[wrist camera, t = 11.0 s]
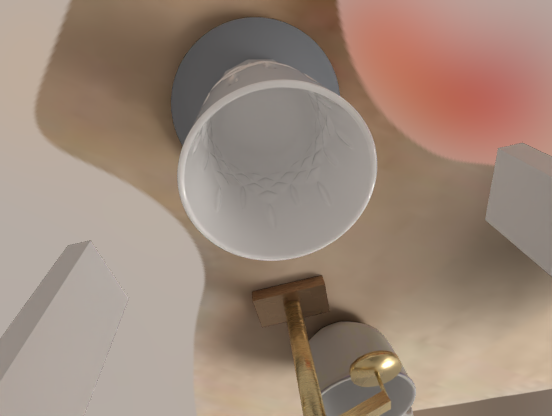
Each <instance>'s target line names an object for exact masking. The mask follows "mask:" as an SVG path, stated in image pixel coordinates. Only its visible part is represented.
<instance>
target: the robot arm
mask: <svg viewBox="0 0 552 416" xmlns="http://www.w3.org/2000/svg"><path fill="white" fill-rule="evenodd" d="M485 220H486V221H487V222H488V223H489V224H491V225H492V226H493V227H494V228H495V229H496V230H498V231H499V232H500V233H501V234H502V235H503V236H505V237H506V238H507V239H508V240H509V241H510V242H512V243H513V244H514V245H515V246H516V247H517V248H519V249H520V250H521V251H522V252H523V253H525V254H526V255H527V256H528V257H529V258H530V259H532V260H533V261H534V262H535V263H536V264H537V265H539V266H540V267H541V268H542V269H543V270H544V271H546V272H547V273H548V274H549V275H550V276H551V277H552V156H550V155H548V154H546V153H543V152H541V151H539V150H537V149H535V148H533V147H531V146H529V145H526V144H524V143H519V144H515V145H510V146H506V147H502V148H498V152H497V157H496V162H495V168H494V173H493V179H492V184H491V190H490V195H489V201H488V206H487V212H486V218H485ZM128 299H129V298H128V296H127V295H126V294H125V292H124V290H123V289H122V287H121V286H120V284H119V283H118V281H117V280H116V278H115V276H114V275H113V273H112V272H111V271H110V269H109V267H108V266H107V264H106V263H105V261H104V260H103V258H102V257H101V255H100V254H99V252H98V251H97V249H96V247H95V246H94V244H93V243H92V241H85V242H81V243H77V244H72V245H68V246H67V247H66V249H65V250H64V252H63V253H62V254H61V256H60V257H59V258H58V260H57V261H56V262H55V264H54V265H53V267H52V268H51V270H50V271H49V272H48V274H47V275H46V276H45V278H44V279H43V280H42V282H41V283H40V285H39V286H38V287H37V289H36V290H35V292H34V293H33V294H32V296H31V297H30V298H29V300H28V301H27V302H26V304H25V305H24V307H23V308H22V309H21V311H20V312H19V314H18V315H17V316H16V318H15V319H14V320H13V322H12V323H11V325H10V326H9V327H8V329H7V330H6V332H5V333H4V334H3V336H2V337H1V338H0V416H84V415H85V412H86V410H87V407H88V404H89V402H90V399H91V397H92V394H93V391H94V389H95V386H96V383H97V381H98V378H99V375H100V373H101V370H102V368H103V365H104V362H105V360H106V357H107V354H108V352H109V349H110V347H111V344H112V341H113V339H114V336H115V334H116V331H117V328H118V326H119V323H120V321H121V318H122V315H123V313H124V310H125V307H126V305H127V302H128Z"/></svg>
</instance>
